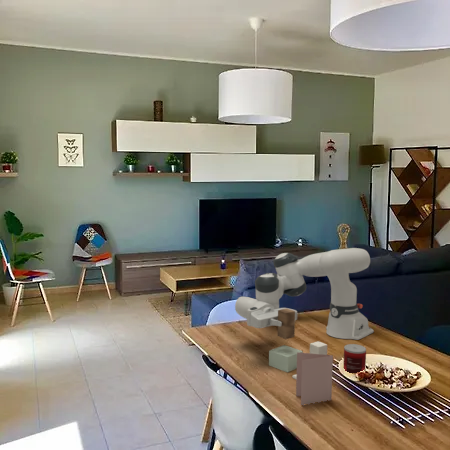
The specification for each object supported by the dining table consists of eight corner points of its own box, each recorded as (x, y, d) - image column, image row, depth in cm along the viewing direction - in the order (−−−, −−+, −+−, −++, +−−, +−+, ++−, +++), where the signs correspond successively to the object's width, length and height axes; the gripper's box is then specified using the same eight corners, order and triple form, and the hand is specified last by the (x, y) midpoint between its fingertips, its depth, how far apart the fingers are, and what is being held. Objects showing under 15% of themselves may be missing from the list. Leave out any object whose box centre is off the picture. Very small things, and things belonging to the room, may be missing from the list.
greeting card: (331, 398, 164) (332, 354, 162) (330, 409, 157) (332, 363, 155) (296, 394, 167) (297, 351, 165) (294, 405, 159) (295, 359, 158)
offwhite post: (317, 366, 190) (318, 341, 189) (326, 370, 187) (327, 344, 185) (309, 369, 188) (309, 343, 186) (318, 373, 184) (318, 347, 183)
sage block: (283, 359, 197) (284, 344, 197) (302, 366, 191) (302, 351, 190) (268, 365, 191) (269, 350, 190) (287, 372, 185) (287, 357, 184)
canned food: (356, 371, 186) (358, 342, 185) (369, 380, 178) (370, 350, 177) (338, 374, 183) (339, 345, 182) (350, 383, 176) (352, 352, 175)
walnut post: (286, 333, 193) (286, 308, 192) (294, 336, 189) (295, 311, 188) (277, 335, 190) (278, 310, 189) (285, 339, 187) (286, 313, 186)
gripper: (283, 317, 206) (307, 325, 195) (243, 326, 194) (267, 336, 183) (283, 302, 205) (307, 310, 194) (244, 310, 193) (267, 319, 182)
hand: (287, 322), depth 188 cm, fingers closed on walnut post, 4 cm apart
